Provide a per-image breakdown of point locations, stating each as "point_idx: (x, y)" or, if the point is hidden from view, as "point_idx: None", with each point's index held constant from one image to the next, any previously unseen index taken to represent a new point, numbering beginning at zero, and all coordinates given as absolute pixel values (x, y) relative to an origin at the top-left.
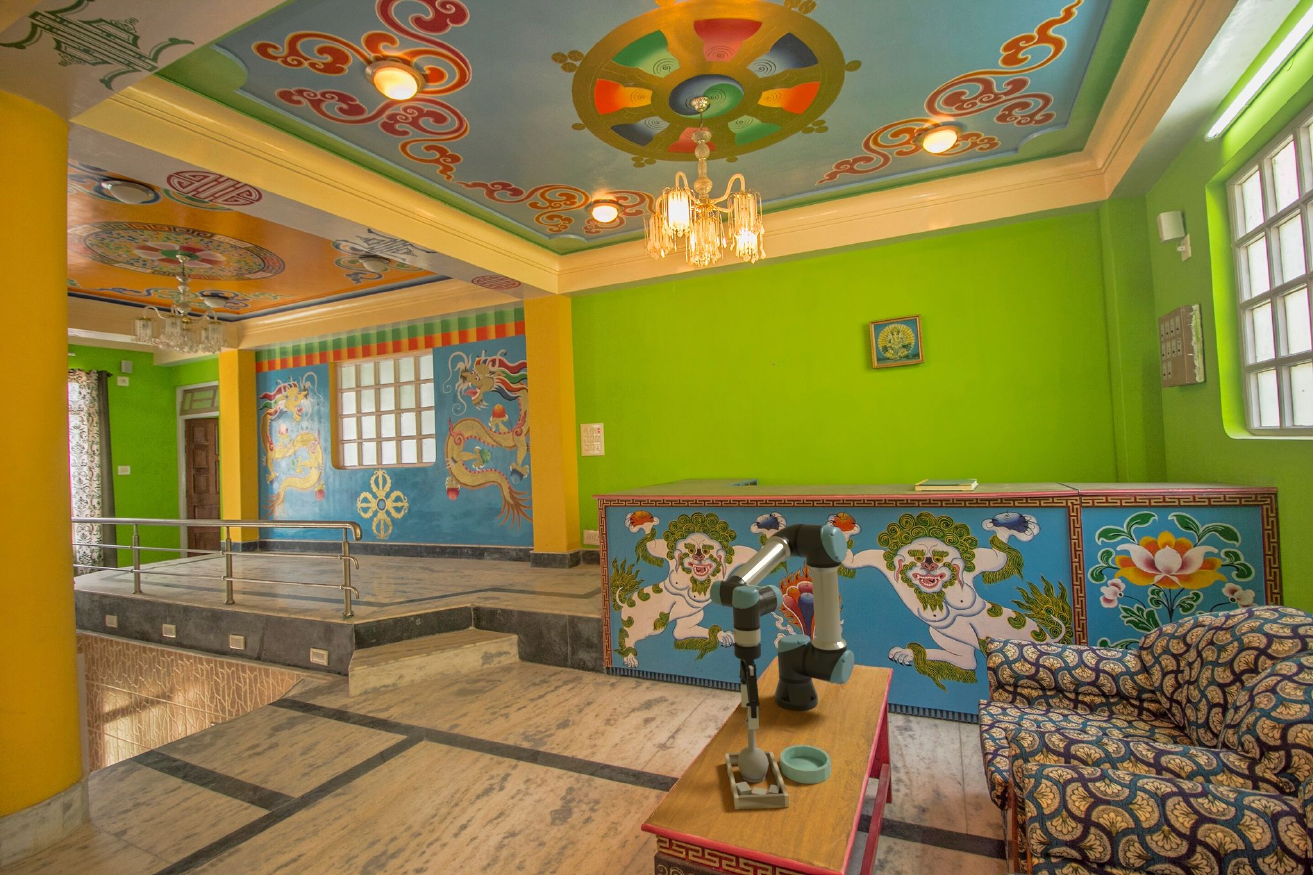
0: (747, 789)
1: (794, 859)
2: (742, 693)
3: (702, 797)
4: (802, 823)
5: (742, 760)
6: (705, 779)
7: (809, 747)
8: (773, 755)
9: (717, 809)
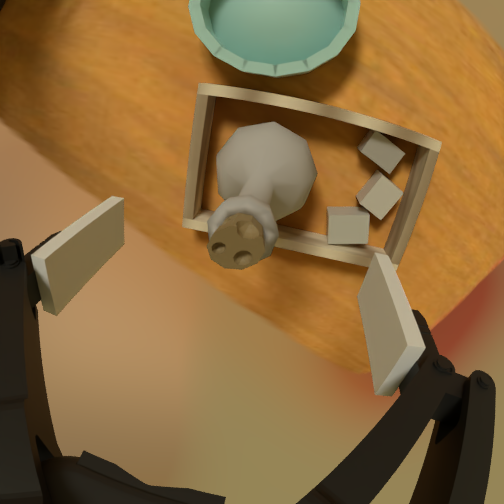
0: (365, 225)
1: None
2: (85, 279)
3: (319, 305)
4: (484, 142)
5: (278, 219)
6: (252, 281)
7: None
8: (224, 87)
9: None
